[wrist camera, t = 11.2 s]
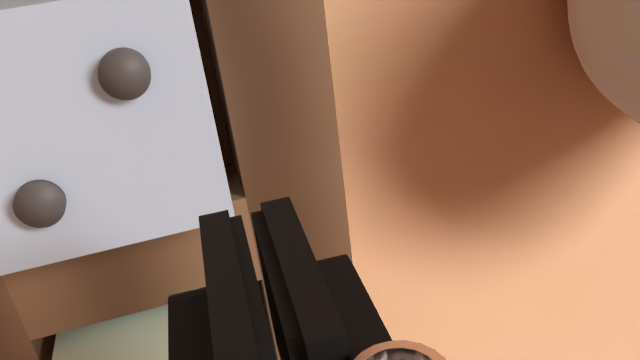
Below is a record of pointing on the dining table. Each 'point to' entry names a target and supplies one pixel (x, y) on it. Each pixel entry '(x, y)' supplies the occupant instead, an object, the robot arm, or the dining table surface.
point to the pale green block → (118, 338)
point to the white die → (102, 128)
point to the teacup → (609, 48)
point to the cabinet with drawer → (243, 175)
